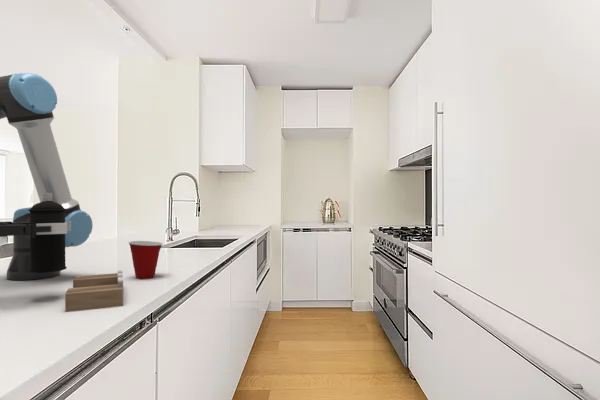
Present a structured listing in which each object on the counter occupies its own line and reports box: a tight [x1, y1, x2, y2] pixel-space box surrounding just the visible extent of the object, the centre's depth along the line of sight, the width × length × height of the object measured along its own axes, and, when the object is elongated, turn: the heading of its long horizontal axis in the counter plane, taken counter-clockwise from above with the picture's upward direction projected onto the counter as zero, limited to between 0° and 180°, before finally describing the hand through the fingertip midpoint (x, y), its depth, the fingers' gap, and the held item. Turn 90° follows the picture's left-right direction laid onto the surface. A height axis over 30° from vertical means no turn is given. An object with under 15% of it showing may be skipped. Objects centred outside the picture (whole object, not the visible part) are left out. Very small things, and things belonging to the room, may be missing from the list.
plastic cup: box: [128, 240, 164, 280], centre depth 130 cm, size 11×11×12 cm
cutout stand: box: [64, 270, 124, 312], centre depth 103 cm, size 24×12×5 cm, turn 25°
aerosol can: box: [29, 193, 67, 273], centre depth 102 cm, size 8×8×20 cm
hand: (68, 227), depth 104 cm, fingers closed on aerosol can, 8 cm apart
